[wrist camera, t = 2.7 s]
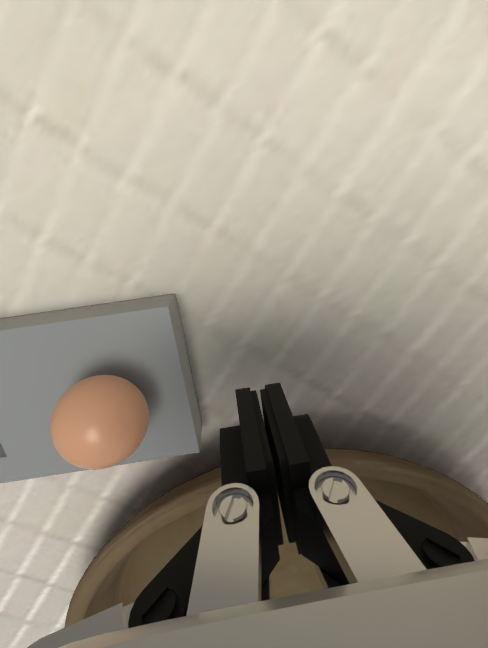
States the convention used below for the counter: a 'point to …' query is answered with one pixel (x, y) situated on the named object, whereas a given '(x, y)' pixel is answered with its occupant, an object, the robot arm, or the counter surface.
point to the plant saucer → (292, 569)
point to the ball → (99, 422)
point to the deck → (90, 360)
